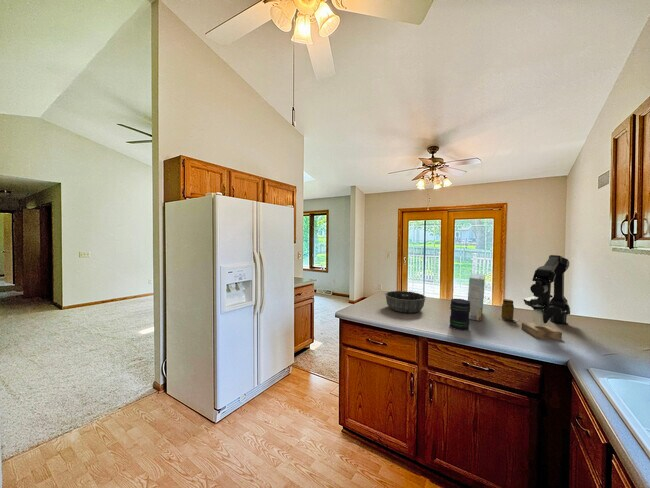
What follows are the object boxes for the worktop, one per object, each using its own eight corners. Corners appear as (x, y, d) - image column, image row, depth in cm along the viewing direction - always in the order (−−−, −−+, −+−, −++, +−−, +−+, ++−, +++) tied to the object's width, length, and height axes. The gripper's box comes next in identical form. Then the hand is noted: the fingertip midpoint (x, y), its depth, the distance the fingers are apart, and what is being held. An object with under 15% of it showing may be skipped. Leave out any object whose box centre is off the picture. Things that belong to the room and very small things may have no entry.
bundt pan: (379, 304, 190) (380, 290, 190) (414, 303, 193) (414, 290, 193) (392, 316, 164) (393, 300, 163) (432, 315, 167) (433, 299, 166)
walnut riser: (545, 331, 144) (545, 323, 144) (561, 340, 132) (562, 332, 132) (521, 329, 146) (521, 322, 146) (535, 338, 134) (535, 330, 134)
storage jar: (446, 327, 147) (448, 300, 146) (452, 322, 154) (453, 297, 153) (466, 332, 140) (467, 304, 139) (471, 327, 147) (472, 301, 146)
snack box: (482, 322, 156) (484, 279, 155) (465, 319, 161) (468, 277, 159) (483, 312, 175) (485, 274, 173) (468, 310, 179) (470, 272, 178)
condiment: (502, 316, 167) (503, 298, 166) (518, 320, 161) (519, 301, 160) (498, 318, 163) (499, 299, 162) (514, 322, 156) (516, 303, 155)
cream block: (542, 322, 141) (543, 309, 141) (549, 326, 136) (550, 312, 136) (532, 322, 142) (533, 309, 141) (539, 325, 137) (540, 312, 136)
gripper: (516, 287, 148) (514, 314, 149) (538, 296, 130) (536, 327, 131) (537, 288, 147) (535, 315, 148) (563, 297, 128) (561, 328, 129)
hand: (541, 321), depth 139 cm, fingers closed on cream block, 5 cm apart
